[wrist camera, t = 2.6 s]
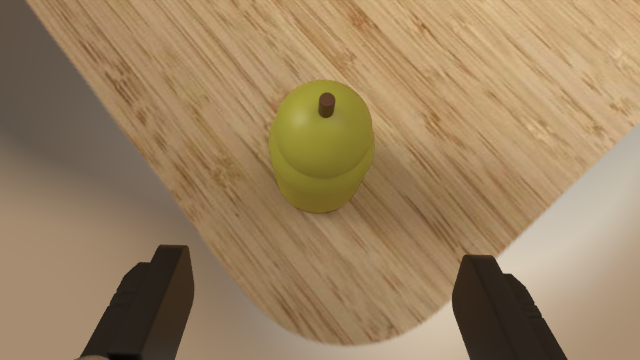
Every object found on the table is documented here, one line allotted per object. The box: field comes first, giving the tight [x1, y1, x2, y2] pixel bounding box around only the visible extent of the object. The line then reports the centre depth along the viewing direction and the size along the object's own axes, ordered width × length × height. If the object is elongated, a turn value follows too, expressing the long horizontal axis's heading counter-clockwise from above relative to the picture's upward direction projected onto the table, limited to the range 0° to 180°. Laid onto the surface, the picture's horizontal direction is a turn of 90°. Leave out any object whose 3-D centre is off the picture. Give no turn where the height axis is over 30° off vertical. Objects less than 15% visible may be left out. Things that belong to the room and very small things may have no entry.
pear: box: [269, 80, 375, 213], centre depth 20 cm, size 5×5×10 cm
